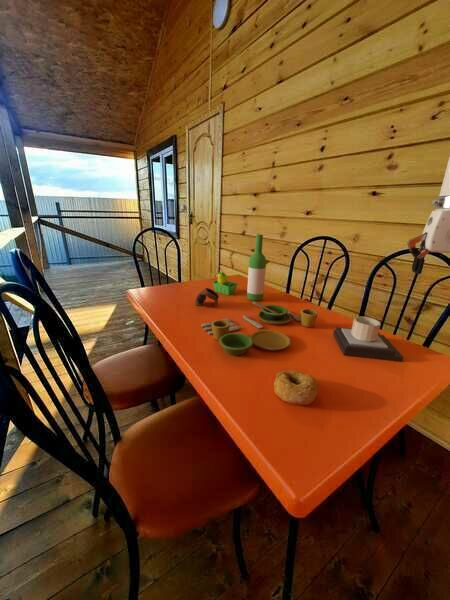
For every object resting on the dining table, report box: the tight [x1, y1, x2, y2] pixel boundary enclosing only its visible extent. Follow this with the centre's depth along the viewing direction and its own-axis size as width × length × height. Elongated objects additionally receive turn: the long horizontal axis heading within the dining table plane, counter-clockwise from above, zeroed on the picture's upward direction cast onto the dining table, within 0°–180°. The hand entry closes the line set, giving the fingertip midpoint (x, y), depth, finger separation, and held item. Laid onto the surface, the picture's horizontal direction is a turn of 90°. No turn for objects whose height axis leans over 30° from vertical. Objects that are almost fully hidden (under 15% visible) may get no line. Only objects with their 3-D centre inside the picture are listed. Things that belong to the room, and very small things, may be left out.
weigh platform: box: [341, 327, 388, 349], centre depth 80 cm, size 10×10×2 cm
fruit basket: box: [212, 271, 239, 296], centre depth 128 cm, size 11×9×11 cm
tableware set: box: [200, 301, 319, 357], centre depth 88 cm, size 41×28×6 cm
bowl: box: [351, 315, 381, 342], centre depth 79 cm, size 7×7×6 cm
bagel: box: [273, 370, 320, 406], centre depth 58 cm, size 10×11×5 cm
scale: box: [332, 326, 404, 363], centre depth 80 cm, size 16×14×3 cm
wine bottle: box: [246, 233, 267, 302], centre depth 117 cm, size 8×8×30 cm
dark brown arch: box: [194, 287, 220, 307], centre depth 111 cm, size 12×10×8 cm
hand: (436, 273), depth 67 cm, fingers open, 9 cm apart
